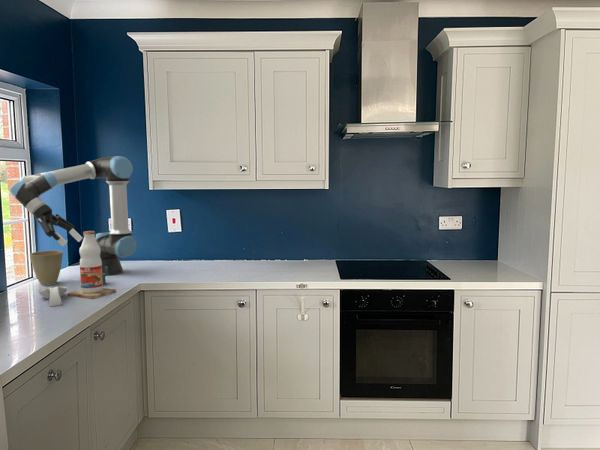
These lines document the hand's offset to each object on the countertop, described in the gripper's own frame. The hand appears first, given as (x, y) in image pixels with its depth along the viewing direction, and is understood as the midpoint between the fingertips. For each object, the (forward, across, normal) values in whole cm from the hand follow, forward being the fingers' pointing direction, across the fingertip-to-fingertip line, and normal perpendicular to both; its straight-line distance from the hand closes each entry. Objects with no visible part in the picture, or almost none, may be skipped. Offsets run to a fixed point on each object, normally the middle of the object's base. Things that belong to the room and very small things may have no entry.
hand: (73, 242), depth 222 cm
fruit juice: (+22, -1, -11) cm, 24 cm away
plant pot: (0, -20, -35) cm, 40 cm away
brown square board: (+23, 0, -12) cm, 25 cm away
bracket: (+18, -18, -17) cm, 31 cm away
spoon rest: (+15, +11, -20) cm, 27 cm away
